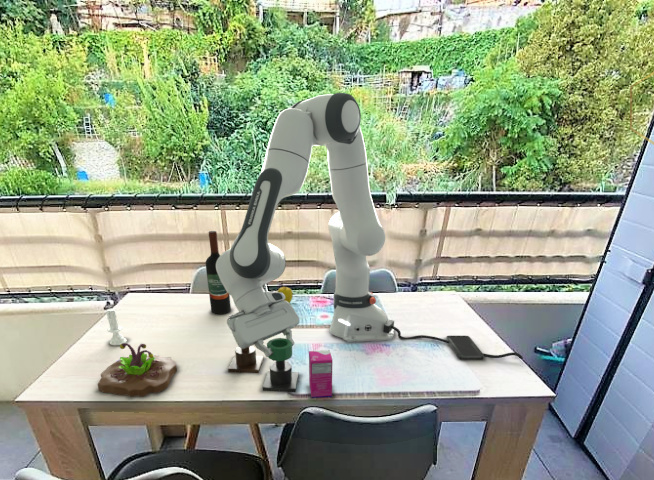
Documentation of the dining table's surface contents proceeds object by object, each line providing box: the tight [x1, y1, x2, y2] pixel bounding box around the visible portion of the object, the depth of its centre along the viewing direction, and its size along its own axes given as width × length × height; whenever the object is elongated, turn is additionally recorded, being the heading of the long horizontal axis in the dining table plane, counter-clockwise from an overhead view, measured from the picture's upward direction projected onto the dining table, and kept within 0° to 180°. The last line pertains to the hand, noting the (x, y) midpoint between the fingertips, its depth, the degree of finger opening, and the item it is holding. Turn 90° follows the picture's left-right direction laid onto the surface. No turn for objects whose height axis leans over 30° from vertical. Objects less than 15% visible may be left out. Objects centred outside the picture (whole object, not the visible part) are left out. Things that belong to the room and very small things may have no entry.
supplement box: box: [308, 349, 334, 399], centre depth 110 cm, size 6×6×12 cm
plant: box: [97, 342, 178, 398], centre depth 116 cm, size 20×20×11 cm
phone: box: [445, 335, 485, 360], centre depth 135 cm, size 8×1×15 cm
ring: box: [266, 337, 293, 362], centre depth 111 cm, size 6×6×4 cm
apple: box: [277, 286, 294, 304], centre depth 167 cm, size 6×6×8 cm
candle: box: [105, 308, 128, 346], centre depth 136 cm, size 5×5×12 cm
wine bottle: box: [205, 230, 232, 316], centre depth 155 cm, size 8×8×30 cm
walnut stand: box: [227, 345, 265, 374], centre depth 123 cm, size 9×9×11 cm
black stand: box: [261, 346, 300, 393], centre depth 114 cm, size 9×9×11 cm
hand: (281, 350), depth 111 cm, fingers closed on ring, 6 cm apart
